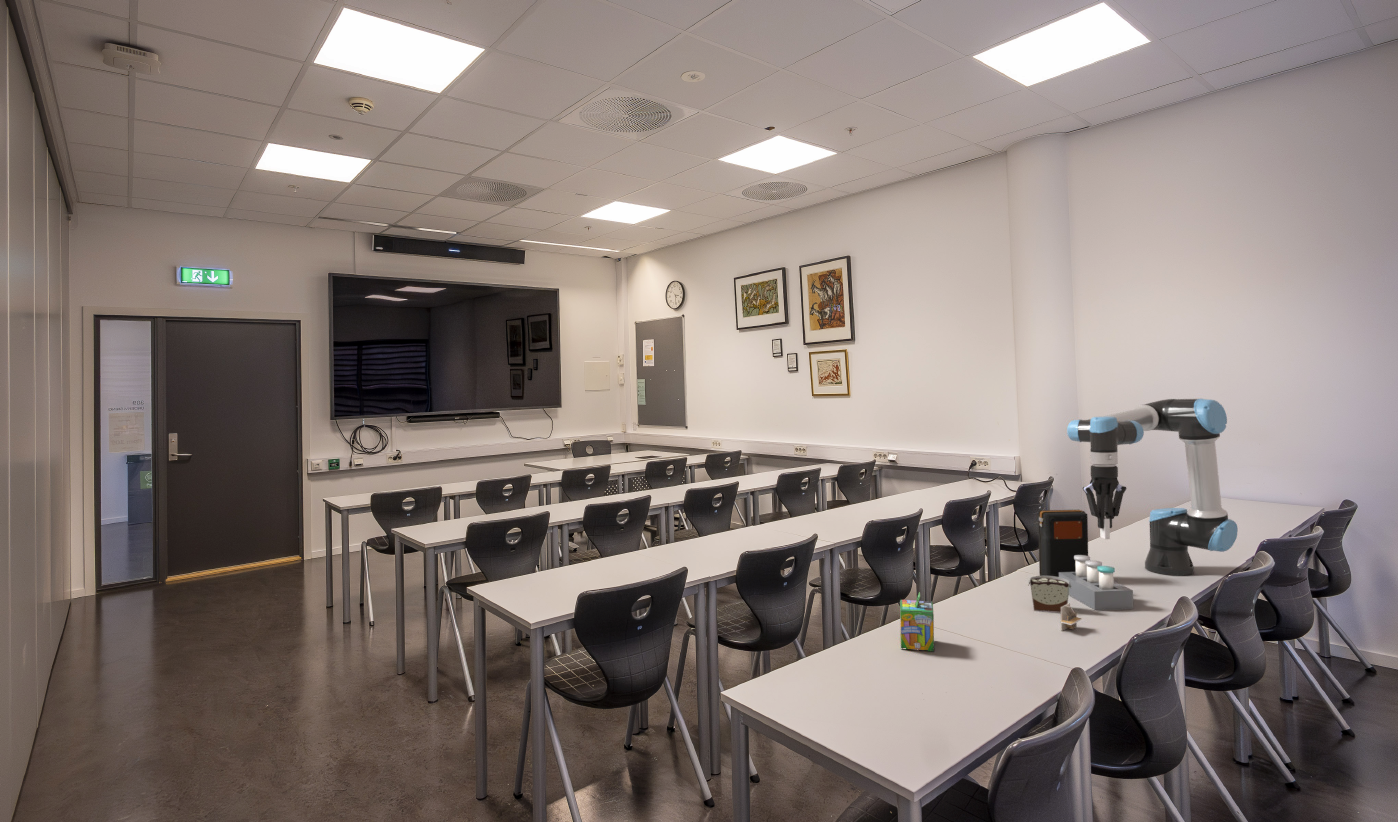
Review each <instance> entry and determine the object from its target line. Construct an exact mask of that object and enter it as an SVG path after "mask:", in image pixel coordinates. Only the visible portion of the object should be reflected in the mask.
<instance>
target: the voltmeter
mask: <svg viewBox="0 0 1398 822" xmlns="http://www.w3.org/2000/svg"><path fill="white" fill-rule="evenodd" d="M1037 513H1038V514H1037V515H1038V517H1037V519H1038V520H1037V522H1038V558H1039V559H1038V562H1039V563H1038V564H1039V566H1038V567H1039V576H1054V577H1059V572H1076V562H1075V560H1074V556H1075V555H1086V556H1089V533H1088V532H1089V529H1088V528H1089V527H1088V525H1089V522H1088V521H1089V519H1088V513H1086V511H1084V510H1082V509H1046V510H1043V509H1041V510H1038V511H1037Z"/></svg>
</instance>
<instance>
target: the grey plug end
mask: <svg viewBox="0 0 1398 822" xmlns="http://www.w3.org/2000/svg"><path fill="white" fill-rule="evenodd" d="M1074 560H1075V562H1076V576H1077V577H1087V565H1085V561H1087V560H1091V557H1090V556H1089V555H1088V556H1086V555H1075V556H1074Z"/></svg>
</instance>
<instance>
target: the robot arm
mask: <svg viewBox="0 0 1398 822" xmlns="http://www.w3.org/2000/svg"><path fill="white" fill-rule="evenodd" d="M1227 424H1228V418H1227V413H1226V410H1225V408H1224V405H1222V404H1221V403H1220V402H1219V401H1217V400H1215V399H1207V398H1177V399H1176V398H1169V399H1168V398H1166V399H1161V400H1157V401H1152V402H1148V403H1145V404H1140V405H1137V406H1135V407H1134V409H1130V410H1125V411H1122V412H1117V413H1113V414H1108V415H1103V416H1093V417H1091V418H1090V419H1073V420H1071V421H1070V422H1069V423H1068V425H1067V428H1066V430H1067V432H1066V434H1067V436H1068V438H1069V440H1071V441H1074V442H1079V443H1090V444H1089V445H1090V451H1089V453H1090V454H1089V455H1090V456H1089V459H1090V462H1089V463H1090V464H1091V465H1090V477H1091V479H1090V481H1089V484H1088V485H1087V486H1083V487H1082V490H1083V493H1085V495H1086V500H1087V502H1088V503H1087V504H1088V508H1089V511H1090V515H1091V516H1093V517H1096V519H1097V527H1098V528H1099V530H1100V531H1099V532H1100V533H1099V534H1100V535H1099V536H1100V538H1101V539H1104V540H1111V529H1112V528H1113V520H1114V519H1115V517H1119V513H1120V511H1121V505H1122V501H1123V497H1124V494H1125V492H1126V490H1127V486H1124V485H1122V484H1120V483H1119V480H1118V477H1119V466H1118V462H1119V461H1118V460H1119V459H1118V458H1119V456H1118V446H1122V445H1123V446H1124V445H1133V444H1136V443H1139V442H1140V441H1142V439H1143V438H1144V433H1145V432H1150V431H1163V432H1164V431H1165V432H1178V439H1179V440H1181V441H1182V442H1183V443H1184V448H1185V457H1186V466H1187V475H1188V488H1189V496H1190V497H1189V498H1190V506H1191V507H1190V508H1189V509H1187V508H1185V507H1166V508H1165V507H1164V508H1155V509H1152V510H1151V511H1150V513H1149V520H1148V522H1149V550H1148V553H1147V556H1146V558H1145V560H1144V568H1145V570H1147V571H1149V572H1153V573H1154V574H1155V573H1156V574H1160V575H1161V574H1162V575H1168V576H1169V575H1170V576H1191V575H1194V573H1195V566H1194V564H1193V561H1192V559H1191V556H1190V553H1189V548H1188V547H1192V548H1195V549H1196V548H1197V549H1200V550H1201V549H1202V550H1207V551H1209V552H1219V553H1221V552H1223V553H1224V552H1227V551H1229V550H1230V549H1231V548H1232V547H1233V546H1234V544H1235V542H1236V539H1237V536H1238V524H1237V523H1236V521H1235V520H1233V519H1231V518H1229V514H1228V511H1227V510H1226V509H1224V508H1223V507H1222V498H1221V487H1220V480H1219V479H1220V478H1219V477H1220V475H1219V468H1218V457H1217V449H1216V447H1217V446H1216V441H1217V440H1218V439H1219V438H1221V435H1220V434H1222V433H1223V432H1224V431H1225V430H1226V428H1227ZM1093 492H1095V495H1094V493H1093ZM1095 496H1096V498H1095Z"/></svg>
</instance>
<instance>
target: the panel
mask: <svg viewBox="0 0 1398 822" xmlns="http://www.w3.org/2000/svg"><path fill="white" fill-rule="evenodd" d="M1059 577H1060V578H1064V579H1066V580H1068V581H1069V582H1070V584H1071V588H1070V587H1069V595H1070V596H1069V597H1072V598H1073V599H1075V601H1076V600H1077V601H1079V602H1080V603H1081V602H1082V604H1083V605H1085V606H1087V607H1089V608H1090V609H1092V610H1094V611H1109V610H1111V611H1113V610H1114V611H1115V610H1133V609H1134V590H1133V589H1131V588H1129V587H1128V586H1125V585H1124V584H1121V583H1120V582H1117V581H1115V580H1113V586H1114V589H1109V590H1103V589H1101V588H1099V583H1089V582H1087V577H1077V576H1076V572H1059Z"/></svg>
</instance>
